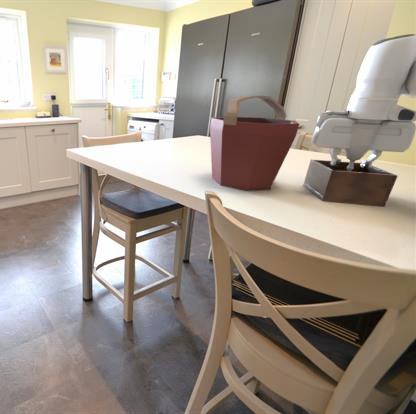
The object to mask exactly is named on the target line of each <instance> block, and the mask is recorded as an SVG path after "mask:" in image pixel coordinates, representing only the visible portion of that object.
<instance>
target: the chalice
mask: <svg viewBox="0 0 416 414" xmlns="http://www.w3.org/2000/svg"><path fill="white" fill-rule="evenodd" d="M381 126H382V125H360V124H353V130H352V137H351V140H350V143H349V144H350V148H349V149H343V151H344V153H345V158H346V159H347V160H349V162H350V163H349V165H348V166H347V171H349V172H351V171H352V169H354V167H353V165H354V162H357V161H360V160H361V159H362V158H363V157H364V156H365V155H366V154H367V153H368V152H370V150H369V149H370V148H371V147H372V145H373V144H374V141H375V138H376V135H377V132H378V129H379V128H380V127H381Z"/></svg>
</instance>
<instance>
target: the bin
mask: <svg viewBox="0 0 416 414" xmlns="http://www.w3.org/2000/svg"><path fill="white" fill-rule="evenodd" d="M330 163H331V160H325V159H310V160H309V164H308V167H307V171H306V176H305V178H304V180H303V187H304V188H306V189H307V190H308V191H309V192H311V193H312V195H315V197H317V198H318V199H319V200H321V201H322V202H330V203H342V204H352V205H361V206H363V205H364V206H373V207H386V205H387V202H388V200H389V198H390V195H391V193H392V190H393V188H394V186H395V183H396V181H397V178H398V175H397V174H394V173H392V172H389V171H387V170H384V169H381V168H379V167H377V166H375V165H373V164H372V165H371V167H370V168H363V167H360V164H361V162H357V161H355V162H354V165H353V167H354V169H352V171H351V172H349V171H347V166H348V165H349V163H350V161H341V162H340V165H339V166H333V165H331V164H330Z"/></svg>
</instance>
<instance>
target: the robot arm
mask: <svg viewBox="0 0 416 414" xmlns="http://www.w3.org/2000/svg"><path fill="white" fill-rule="evenodd" d="M362 60H363V61H362V62H361V65H360V68H359V71H358V74H357V76H356V85H355V89H354V91H353V93H352V94H351V96H350V98H349V101H348V104H347V107H346V110H334V109H330V110H328V109H327V110H326V111H324V112H322V113H320V114H319V115H318V118H317V120H316V127H315V130H314V132H313V134H312V136H311V139H310V143H311V145H312V146H313V147H316V148H321V149H323V148H325V149H329V150H328V151H329V155H330V158H331V160H330V161H331V163H330V164H331V165H333V166H339V165H340V162H342V158H339V157H338V153H340V151H341V150H344V149H349V148H350V144H349V143H350V140H351V137H352V130H353V124H360V125H382V126H381V127H380V128H379V129H378V132H377V135H376V138H375V141H374V144H373V145H372V147H371V148H370V149H369V154H370V155H369V156H368V157H367V158H366V159H362V160H361V162H360V163H361V164H360V167H363V168H370V167H371V165H372V166H373V163H374V162H375V161H376V160H377V159H378V158H380V157H381V156H382V153H383V152H390V153H391V152H393V153H404V152H406V151H408V150H409V149H410V148H411V146H412V143H413V140H414V137H415V136H416V135H415V134H416V123H414V122H416V110H414V109H411V108H408V107H405V106H403V105H399V104H398V102H399V99H400V97H404V98H408V99H409V98H410V99H411V98H412V99H416V34H414V33H409V34H402V35H396V36H392V37H388V38H384V39H380V40H378V41H376V42H375V43H373V44H372V45H371V46H370V47H369V49H368V51H367V52H366V54H365V56H364V58H363V59H362Z"/></svg>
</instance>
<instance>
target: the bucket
mask: <svg viewBox="0 0 416 414" xmlns="http://www.w3.org/2000/svg"><path fill="white" fill-rule="evenodd" d="M251 99H260V100H262V101H263V102H264V103H266V104H267V105H268V106H269V107H271V108H272V109H273V111H274V113H275V118H271V117H254V116H253V117H252V116H238V114H239V113H240V106H241V105H240V104H241V103H242V102H243V101H247V100H251ZM227 103H228V104H227V111H226V112H225V113H224V115H223V116H217V117H211V119H210V124H209V135H210V136H209V140H210V158H211V160H210V161H211V178H212V180H214V181H215V182H216V183H217V184H218V185H219V186H222V187H228V188H232V189H238V190H242V191H247V192H248V191H264V190H266V191H267V190H271V188H272V186H273V184H274V182H275V180H276V178H277V176H278V174H279V173H280V169H281V167H282V166H283V163H284V161H285V160H286V157H287V155H288V153H289V151H290V149H291V147H292V145H293V143H294V141H295V139H296V137H297V134H298V130H299V126H300V123H299V122H298V121H296V120H291V119H287V113H286V110H285V107H284V106H283V105H282V104H280V103H279V102H278V101H277V100H275V98H273V97H271V96H266V95H243V96H237V97H234V98H231V99H229V100H228V102H227Z"/></svg>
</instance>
